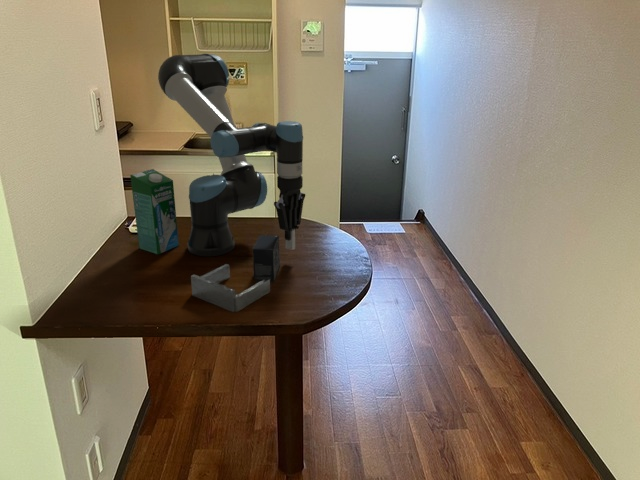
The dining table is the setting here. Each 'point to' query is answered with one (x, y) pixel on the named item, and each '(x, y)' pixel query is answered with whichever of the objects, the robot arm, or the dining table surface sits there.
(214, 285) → the grey u-shaped bracket
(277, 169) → the robot arm
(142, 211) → the milk carton
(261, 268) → the small box
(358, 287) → the dining table surface
